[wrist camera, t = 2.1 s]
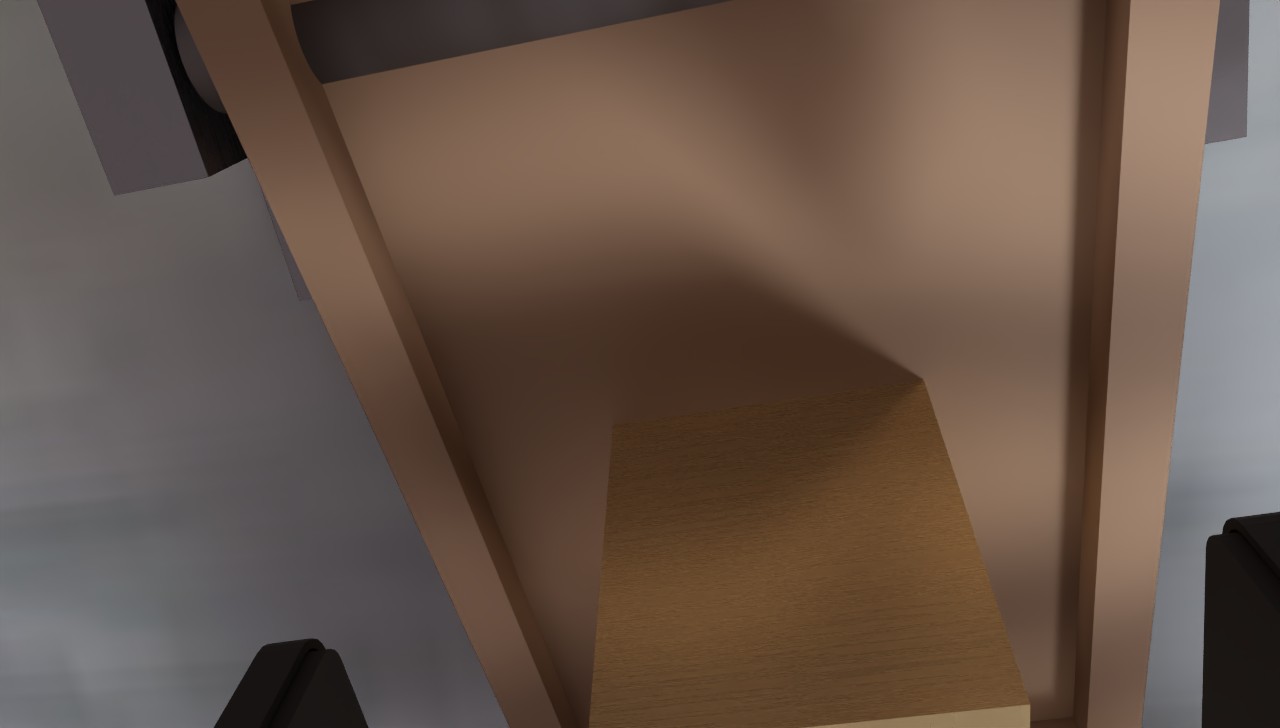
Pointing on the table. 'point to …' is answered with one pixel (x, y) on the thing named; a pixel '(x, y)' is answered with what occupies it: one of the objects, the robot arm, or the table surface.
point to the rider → (797, 574)
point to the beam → (743, 271)
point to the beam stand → (207, 142)
